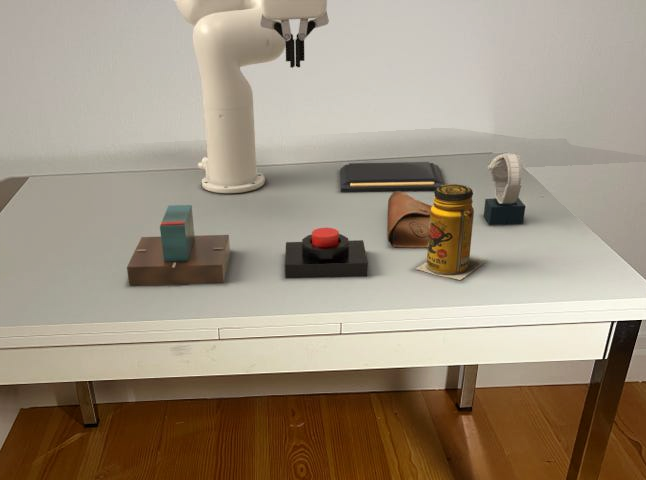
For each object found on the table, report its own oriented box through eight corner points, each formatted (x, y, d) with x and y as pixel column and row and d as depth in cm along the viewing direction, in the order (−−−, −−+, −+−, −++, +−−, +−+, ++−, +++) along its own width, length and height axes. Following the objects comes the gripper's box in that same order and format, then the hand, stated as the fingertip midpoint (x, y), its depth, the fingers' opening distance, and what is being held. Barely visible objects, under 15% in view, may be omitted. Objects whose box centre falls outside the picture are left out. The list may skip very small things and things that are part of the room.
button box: (285, 278, 111) (284, 253, 109) (286, 255, 119) (285, 231, 117) (367, 276, 110) (368, 251, 108) (362, 253, 118) (363, 228, 116)
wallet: (439, 159, 154) (446, 181, 141) (438, 168, 155) (445, 191, 142) (340, 160, 156) (338, 182, 143) (340, 169, 157) (338, 192, 144)
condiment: (414, 270, 112) (419, 191, 106) (442, 251, 117) (449, 175, 111) (459, 281, 107) (467, 200, 101) (486, 262, 113) (495, 183, 107)
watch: (513, 211, 131) (521, 147, 125) (525, 227, 124) (535, 161, 118) (480, 212, 131) (487, 149, 126) (491, 229, 124) (499, 162, 119)
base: (128, 287, 111) (125, 267, 109) (144, 252, 122) (142, 234, 121) (223, 285, 110) (221, 265, 108) (230, 250, 121) (229, 232, 120)
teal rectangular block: (172, 239, 119) (168, 204, 116) (194, 238, 118) (191, 203, 115) (163, 261, 111) (159, 224, 108) (188, 261, 111) (184, 223, 108)
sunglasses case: (443, 245, 118) (423, 210, 115) (402, 266, 120) (382, 232, 118) (436, 207, 133) (418, 175, 131) (400, 226, 136) (382, 195, 133)
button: (312, 248, 111) (312, 237, 110) (311, 238, 115) (311, 227, 114) (339, 248, 111) (339, 236, 110) (338, 238, 114) (338, 227, 113)
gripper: (342, -67, 115) (340, 60, 125) (244, -62, 116) (250, 64, 126) (344, -66, 109) (342, 68, 118) (241, -61, 110) (247, 72, 119)
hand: (295, 65), depth 122 cm, fingers closed
